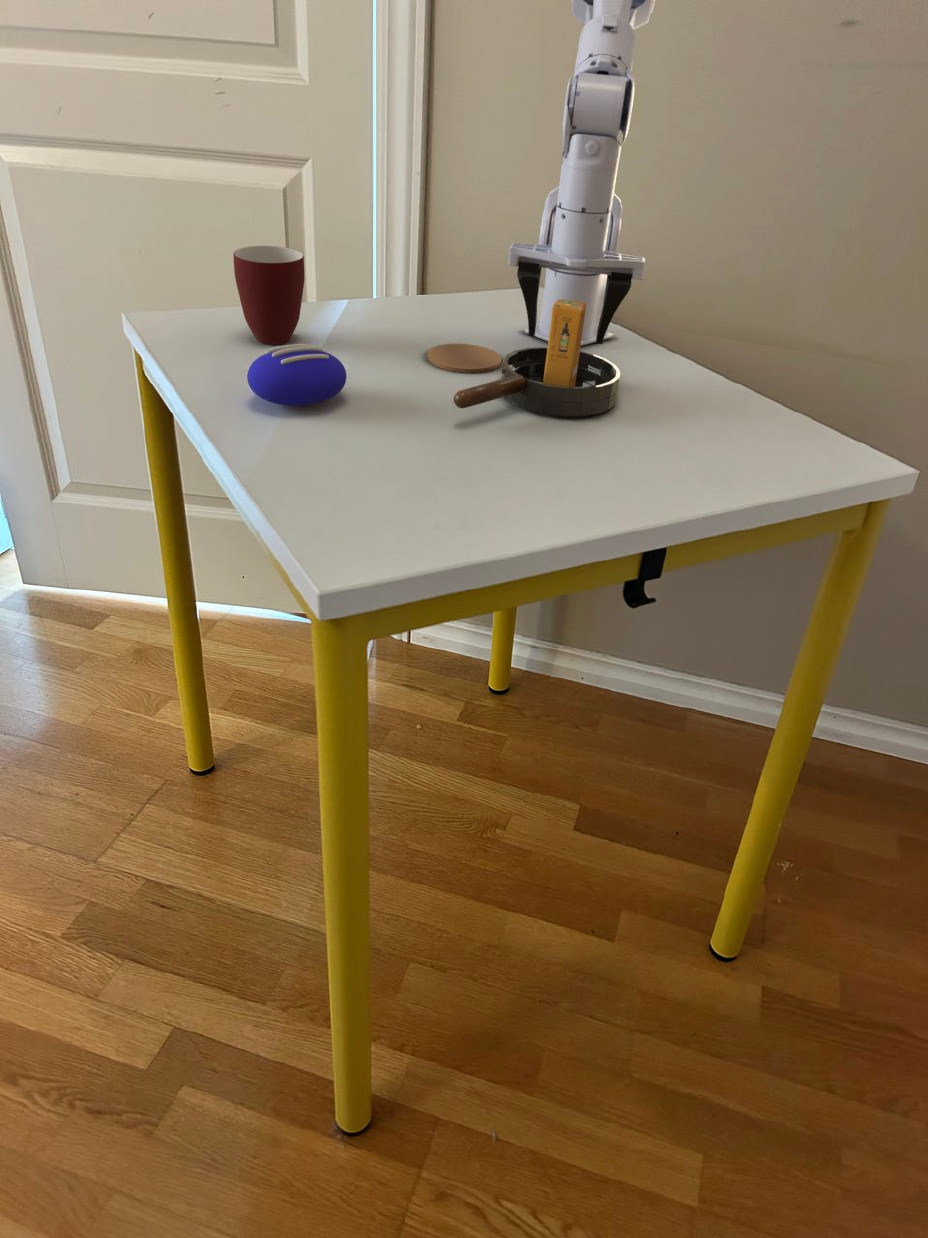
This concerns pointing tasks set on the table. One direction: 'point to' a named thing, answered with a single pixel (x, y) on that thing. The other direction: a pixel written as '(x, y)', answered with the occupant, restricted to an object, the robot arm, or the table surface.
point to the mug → (270, 290)
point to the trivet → (464, 358)
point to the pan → (584, 399)
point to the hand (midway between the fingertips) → (565, 337)
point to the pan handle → (489, 391)
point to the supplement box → (564, 343)
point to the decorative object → (296, 375)
